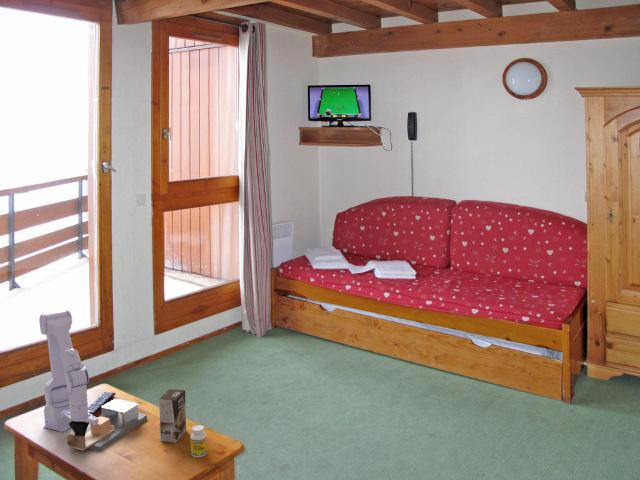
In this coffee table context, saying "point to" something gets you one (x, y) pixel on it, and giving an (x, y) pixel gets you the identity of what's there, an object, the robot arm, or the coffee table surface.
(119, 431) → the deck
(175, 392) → the coffee box
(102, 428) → the block
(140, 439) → the coffee table surface
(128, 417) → the tunnel
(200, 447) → the supplement bottle
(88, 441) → the sled
